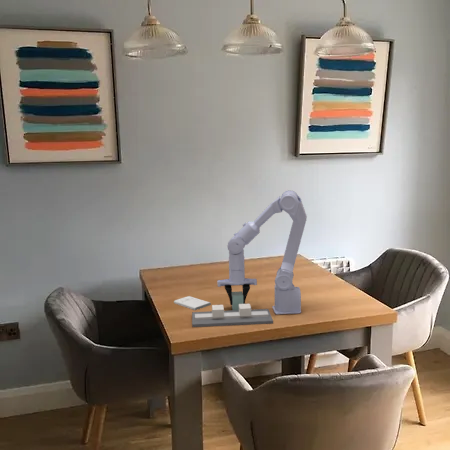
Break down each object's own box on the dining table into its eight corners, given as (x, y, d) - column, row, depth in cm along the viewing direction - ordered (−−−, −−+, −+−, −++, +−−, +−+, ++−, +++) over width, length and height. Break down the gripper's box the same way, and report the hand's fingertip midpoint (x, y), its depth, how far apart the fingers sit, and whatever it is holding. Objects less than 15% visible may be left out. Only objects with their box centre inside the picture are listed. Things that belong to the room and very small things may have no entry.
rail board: (268, 311, 197) (268, 299, 197) (273, 323, 186) (273, 310, 185) (192, 314, 196) (191, 302, 195) (192, 327, 184) (191, 314, 183)
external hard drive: (195, 311, 201) (173, 304, 209) (210, 306, 206) (189, 299, 215) (194, 307, 200) (173, 300, 209) (210, 302, 206) (189, 295, 215)
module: (242, 306, 203) (242, 291, 202) (243, 311, 198) (243, 295, 197) (231, 307, 203) (231, 291, 202) (232, 311, 198) (232, 296, 197)
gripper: (255, 265, 202) (255, 299, 205) (216, 266, 201) (217, 301, 204) (257, 270, 195) (257, 305, 198) (217, 271, 194) (218, 307, 197)
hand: (237, 303), depth 200 cm, fingers closed on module, 4 cm apart
